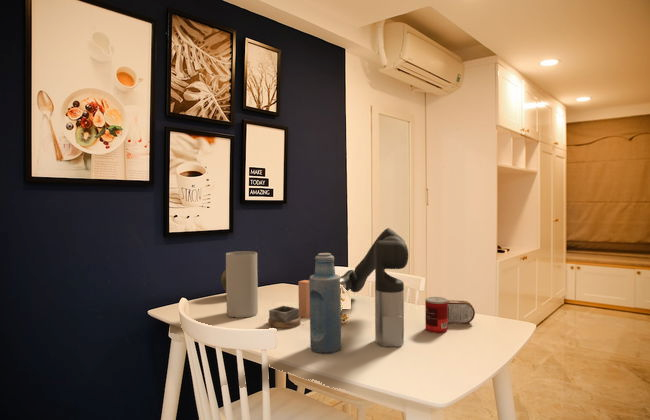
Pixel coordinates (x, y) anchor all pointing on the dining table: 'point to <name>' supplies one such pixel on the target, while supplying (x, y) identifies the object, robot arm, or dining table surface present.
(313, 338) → the bottle
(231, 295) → the cylinder vase
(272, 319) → the block holder stand
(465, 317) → the tin
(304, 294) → the post
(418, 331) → the dining table surface
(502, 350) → the dining table surface
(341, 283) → the robot arm
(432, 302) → the canned food
